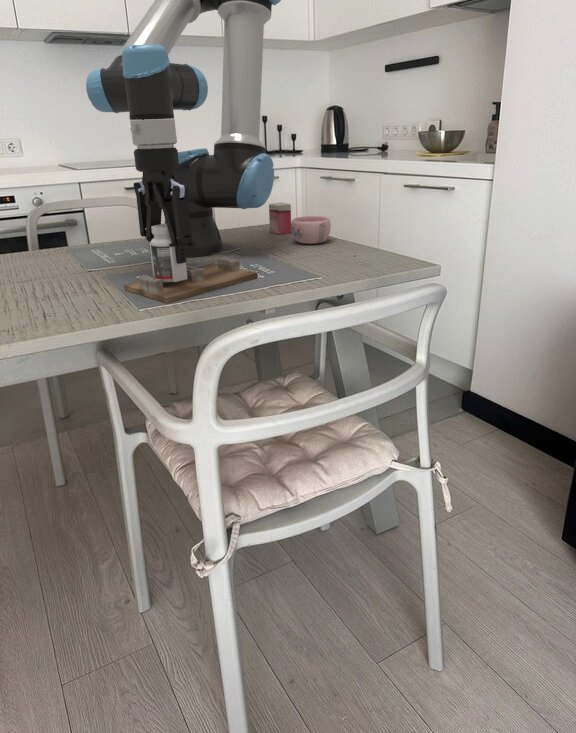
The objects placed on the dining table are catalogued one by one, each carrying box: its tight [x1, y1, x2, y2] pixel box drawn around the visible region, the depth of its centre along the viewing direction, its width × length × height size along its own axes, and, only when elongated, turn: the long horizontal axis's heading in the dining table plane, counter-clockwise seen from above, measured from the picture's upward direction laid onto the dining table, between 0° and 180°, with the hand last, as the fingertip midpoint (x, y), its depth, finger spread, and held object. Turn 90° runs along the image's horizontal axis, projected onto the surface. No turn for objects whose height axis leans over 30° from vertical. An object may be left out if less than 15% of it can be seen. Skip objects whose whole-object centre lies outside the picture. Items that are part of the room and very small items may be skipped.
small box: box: [268, 202, 292, 235], centre depth 159 cm, size 5×4×8 cm
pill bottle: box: [151, 223, 174, 282], centre depth 107 cm, size 6×6×10 cm
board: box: [123, 257, 258, 304], centre depth 112 cm, size 14×22×3 cm, turn 136°
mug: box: [291, 215, 332, 245], centre depth 146 cm, size 12×10×6 cm
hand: (170, 277), depth 109 cm, fingers closed on pill bottle, 6 cm apart
